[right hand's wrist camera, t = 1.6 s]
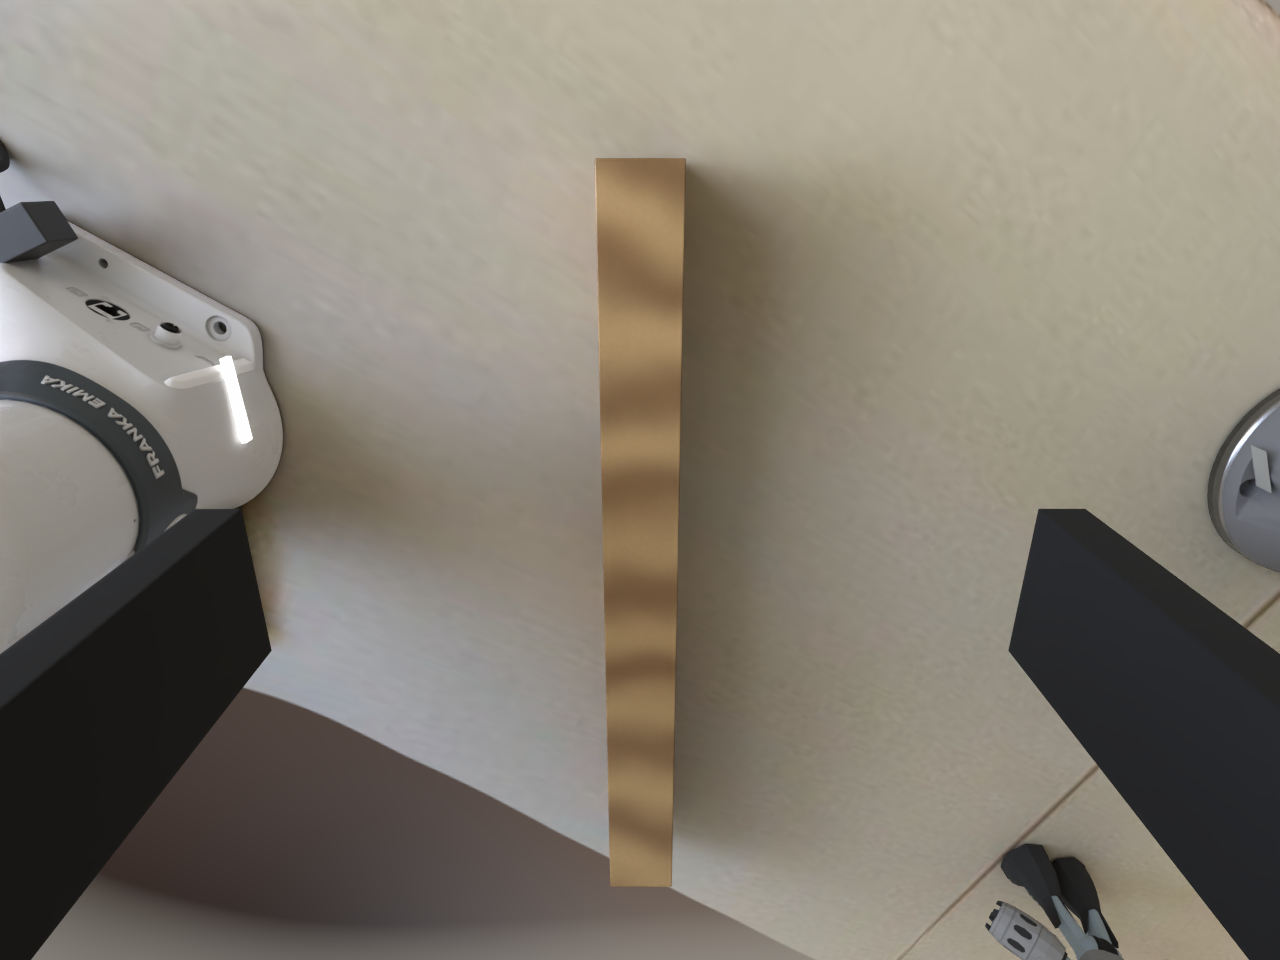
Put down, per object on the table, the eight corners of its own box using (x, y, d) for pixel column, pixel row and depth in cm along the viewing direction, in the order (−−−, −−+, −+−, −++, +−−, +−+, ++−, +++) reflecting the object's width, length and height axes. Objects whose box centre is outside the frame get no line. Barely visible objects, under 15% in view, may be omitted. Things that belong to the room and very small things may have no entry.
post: (601, 161, 48) (594, 158, 41) (679, 161, 48) (685, 158, 41) (613, 816, 67) (610, 887, 61) (668, 815, 67) (671, 886, 61)
